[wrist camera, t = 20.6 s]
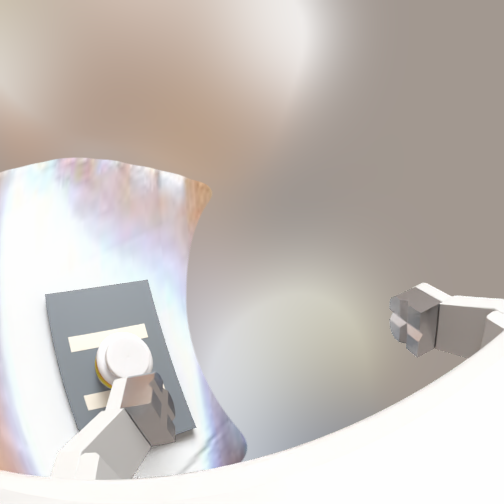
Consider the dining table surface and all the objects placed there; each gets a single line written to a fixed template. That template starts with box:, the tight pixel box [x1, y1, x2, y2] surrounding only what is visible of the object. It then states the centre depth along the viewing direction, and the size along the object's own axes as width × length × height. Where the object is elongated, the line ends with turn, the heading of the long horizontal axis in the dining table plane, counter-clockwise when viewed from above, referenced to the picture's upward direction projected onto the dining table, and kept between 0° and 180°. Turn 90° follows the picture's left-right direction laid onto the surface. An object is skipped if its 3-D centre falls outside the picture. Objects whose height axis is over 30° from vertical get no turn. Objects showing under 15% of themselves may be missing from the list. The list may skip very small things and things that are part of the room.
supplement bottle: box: [95, 332, 153, 389], centre depth 27 cm, size 6×6×10 cm
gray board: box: [45, 280, 196, 435], centre depth 31 cm, size 20×14×2 cm
